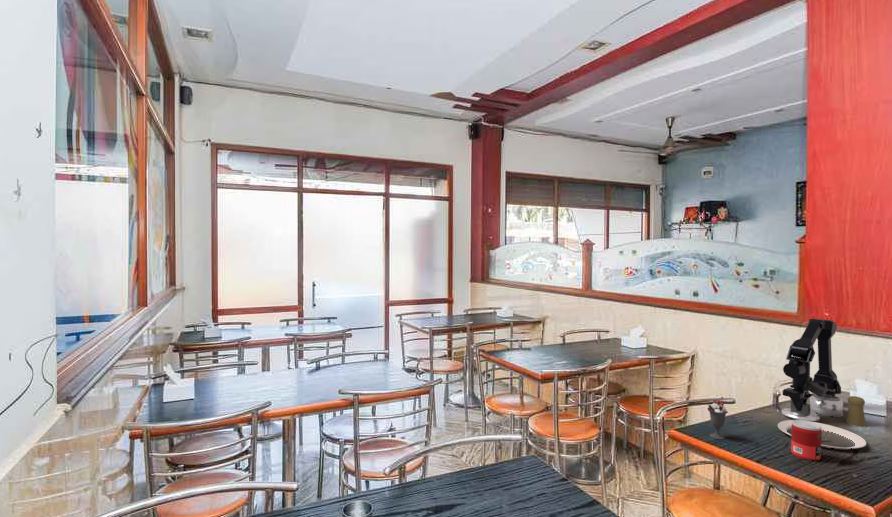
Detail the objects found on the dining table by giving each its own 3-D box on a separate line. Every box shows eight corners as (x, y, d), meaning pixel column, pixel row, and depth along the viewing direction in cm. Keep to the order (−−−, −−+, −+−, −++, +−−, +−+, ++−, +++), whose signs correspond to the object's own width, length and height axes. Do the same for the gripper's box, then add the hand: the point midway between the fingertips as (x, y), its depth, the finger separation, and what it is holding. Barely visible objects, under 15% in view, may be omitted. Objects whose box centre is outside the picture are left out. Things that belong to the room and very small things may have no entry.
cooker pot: (815, 406, 204) (816, 391, 204) (846, 414, 195) (847, 398, 194) (805, 410, 198) (805, 395, 198) (836, 418, 189) (837, 403, 189)
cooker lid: (789, 408, 199) (789, 396, 199) (824, 417, 188) (825, 404, 188) (775, 413, 192) (776, 400, 192) (811, 423, 182) (812, 410, 181)
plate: (773, 438, 169) (773, 433, 169) (782, 420, 188) (782, 415, 188) (866, 460, 152) (866, 454, 152) (866, 437, 170) (866, 432, 170)
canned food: (822, 463, 149) (823, 430, 149) (792, 457, 153) (793, 425, 153) (818, 454, 155) (819, 422, 155) (789, 449, 160) (790, 418, 159)
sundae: (729, 436, 170) (730, 397, 170) (725, 442, 165) (726, 401, 165) (709, 431, 174) (710, 393, 174) (704, 436, 169) (705, 397, 169)
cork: (870, 426, 181) (870, 399, 180) (854, 426, 181) (855, 399, 180) (856, 421, 187) (857, 394, 186) (841, 420, 187) (842, 394, 186)
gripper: (814, 382, 178) (813, 421, 178) (834, 375, 188) (833, 412, 188) (782, 375, 188) (781, 412, 188) (802, 369, 197) (801, 404, 198)
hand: (800, 410), depth 190 cm, fingers closed on cooker lid, 2 cm apart
